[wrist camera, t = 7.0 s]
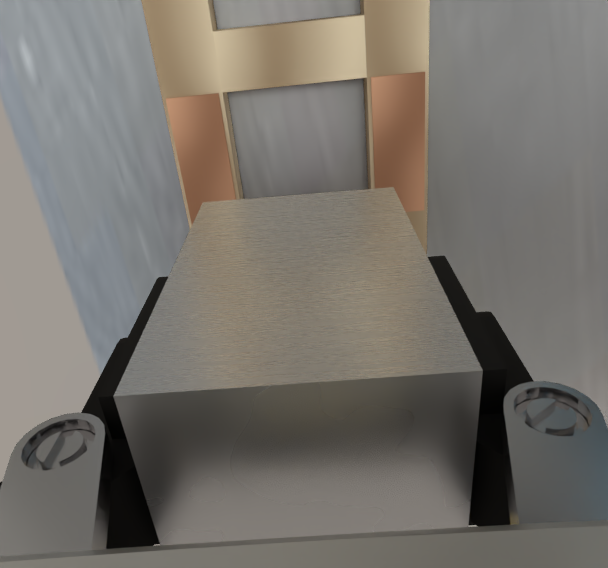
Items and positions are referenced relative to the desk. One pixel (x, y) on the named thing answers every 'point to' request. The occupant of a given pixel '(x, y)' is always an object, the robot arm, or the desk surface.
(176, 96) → the hole rail
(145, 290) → the desk surface
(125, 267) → the desk surface
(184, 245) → the steel block
